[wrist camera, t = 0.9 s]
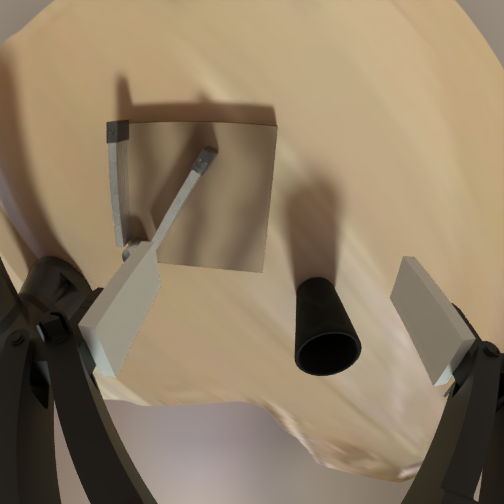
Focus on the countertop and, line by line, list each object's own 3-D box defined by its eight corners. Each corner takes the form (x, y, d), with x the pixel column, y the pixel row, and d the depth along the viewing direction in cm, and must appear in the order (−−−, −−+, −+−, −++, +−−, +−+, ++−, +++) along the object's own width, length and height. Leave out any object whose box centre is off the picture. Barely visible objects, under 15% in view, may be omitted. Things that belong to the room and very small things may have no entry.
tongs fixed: (129, 268, 38) (121, 279, 35) (119, 120, 28) (106, 122, 26) (154, 270, 38) (146, 283, 35) (147, 118, 28) (136, 119, 26)
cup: (287, 273, 39) (293, 335, 28) (342, 268, 38) (365, 326, 28) (290, 316, 42) (295, 379, 32) (340, 311, 42) (357, 371, 31)
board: (135, 252, 39) (130, 259, 37) (128, 123, 30) (121, 124, 28) (262, 264, 39) (262, 272, 37) (277, 126, 30) (277, 126, 28)
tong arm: (155, 234, 35) (147, 245, 32) (208, 145, 29) (202, 148, 27) (165, 240, 35) (157, 251, 32) (219, 152, 30) (214, 156, 27)
